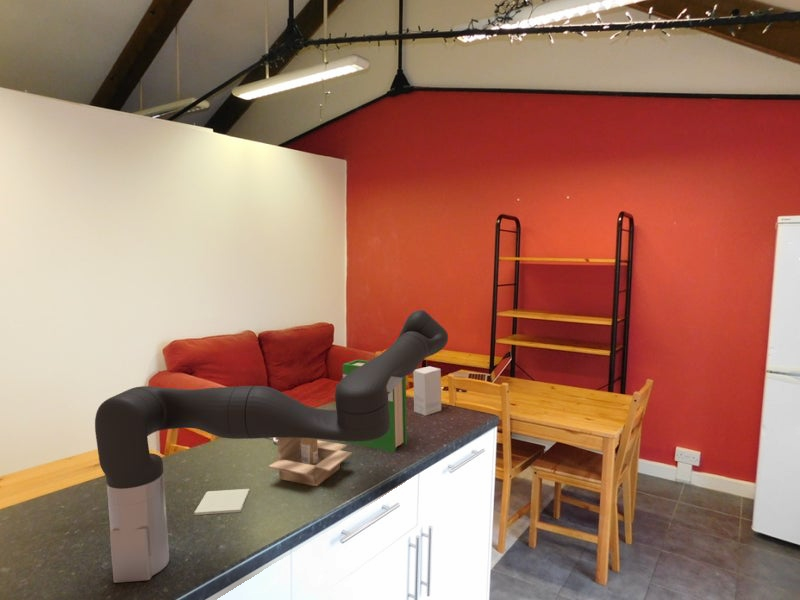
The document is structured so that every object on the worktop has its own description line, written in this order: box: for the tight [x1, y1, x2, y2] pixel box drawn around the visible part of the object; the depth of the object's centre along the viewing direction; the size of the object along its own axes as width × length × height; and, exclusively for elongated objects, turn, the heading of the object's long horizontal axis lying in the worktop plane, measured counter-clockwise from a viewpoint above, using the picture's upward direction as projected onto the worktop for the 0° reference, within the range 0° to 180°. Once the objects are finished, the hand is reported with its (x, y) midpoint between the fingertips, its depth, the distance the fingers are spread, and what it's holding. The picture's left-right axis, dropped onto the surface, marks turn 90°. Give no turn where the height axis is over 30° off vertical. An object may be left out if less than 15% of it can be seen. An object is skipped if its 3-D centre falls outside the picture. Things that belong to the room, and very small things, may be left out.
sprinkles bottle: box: [301, 438, 318, 465], centre depth 131 cm, size 5×5×14 cm
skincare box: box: [412, 365, 442, 416], centre depth 180 cm, size 8×7×16 cm
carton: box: [268, 438, 353, 487], centre depth 131 cm, size 15×19×12 cm
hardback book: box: [342, 359, 408, 453], centre depth 151 cm, size 18×7×24 cm, turn 59°
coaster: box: [193, 488, 250, 516], centre depth 117 cm, size 10×10×1 cm
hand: (342, 419), depth 127 cm, fingers open, 8 cm apart
